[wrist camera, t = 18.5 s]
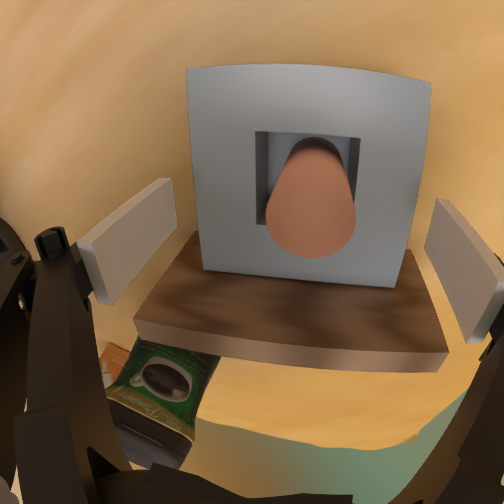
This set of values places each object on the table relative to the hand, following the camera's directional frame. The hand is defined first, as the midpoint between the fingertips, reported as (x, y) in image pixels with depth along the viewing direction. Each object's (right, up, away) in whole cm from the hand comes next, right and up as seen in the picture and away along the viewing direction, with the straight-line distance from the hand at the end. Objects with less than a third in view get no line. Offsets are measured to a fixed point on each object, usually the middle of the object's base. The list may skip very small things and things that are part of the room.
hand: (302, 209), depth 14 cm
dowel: (+2, +5, +7) cm, 9 cm away
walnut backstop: (+2, -2, +13) cm, 13 cm away
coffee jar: (-9, -10, +21) cm, 25 cm away
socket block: (+2, +5, +8) cm, 10 cm away
